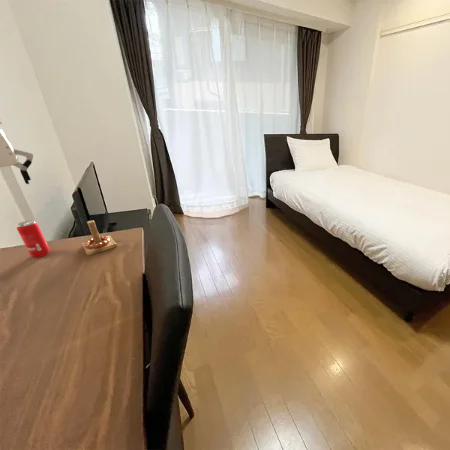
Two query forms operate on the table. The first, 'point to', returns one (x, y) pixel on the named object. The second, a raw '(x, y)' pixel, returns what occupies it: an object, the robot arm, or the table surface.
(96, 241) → the post
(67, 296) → the table surface
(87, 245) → the ring
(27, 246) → the beverage can
